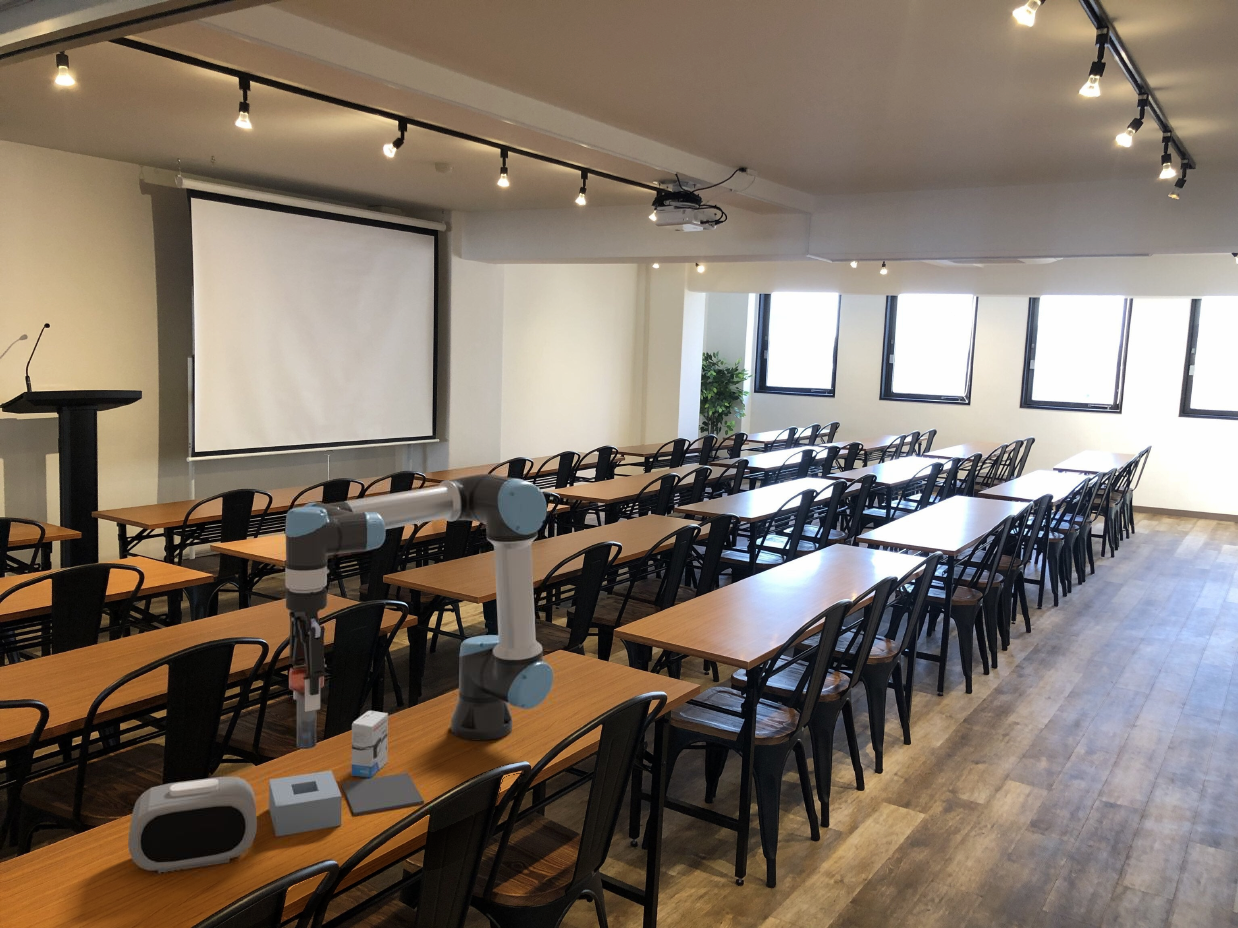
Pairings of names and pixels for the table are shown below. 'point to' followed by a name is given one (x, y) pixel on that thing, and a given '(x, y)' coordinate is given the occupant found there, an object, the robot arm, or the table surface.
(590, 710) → the table surface
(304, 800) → the eye block
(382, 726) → the ink box
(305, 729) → the red-capped vial
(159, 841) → the alarm clock
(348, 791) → the mat
